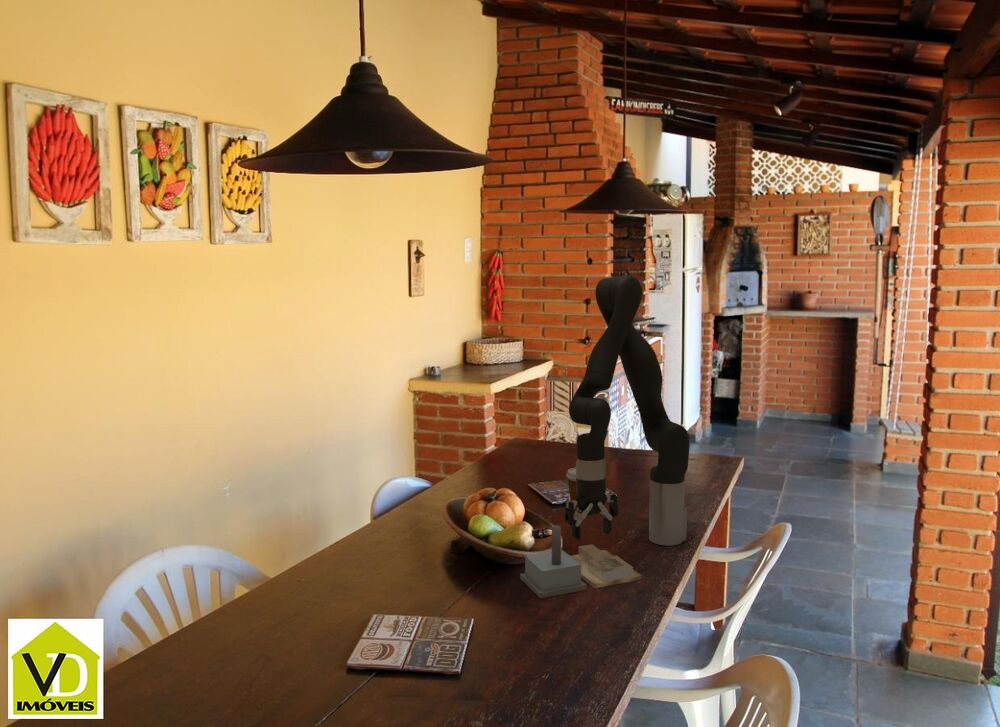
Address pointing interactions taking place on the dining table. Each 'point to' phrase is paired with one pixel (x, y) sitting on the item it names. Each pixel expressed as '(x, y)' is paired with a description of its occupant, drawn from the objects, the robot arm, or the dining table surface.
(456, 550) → the hand tool
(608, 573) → the beige stepped block
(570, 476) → the disposable coffee cup
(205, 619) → the dining table surface
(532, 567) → the block with upright post
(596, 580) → the folded beige cloth
